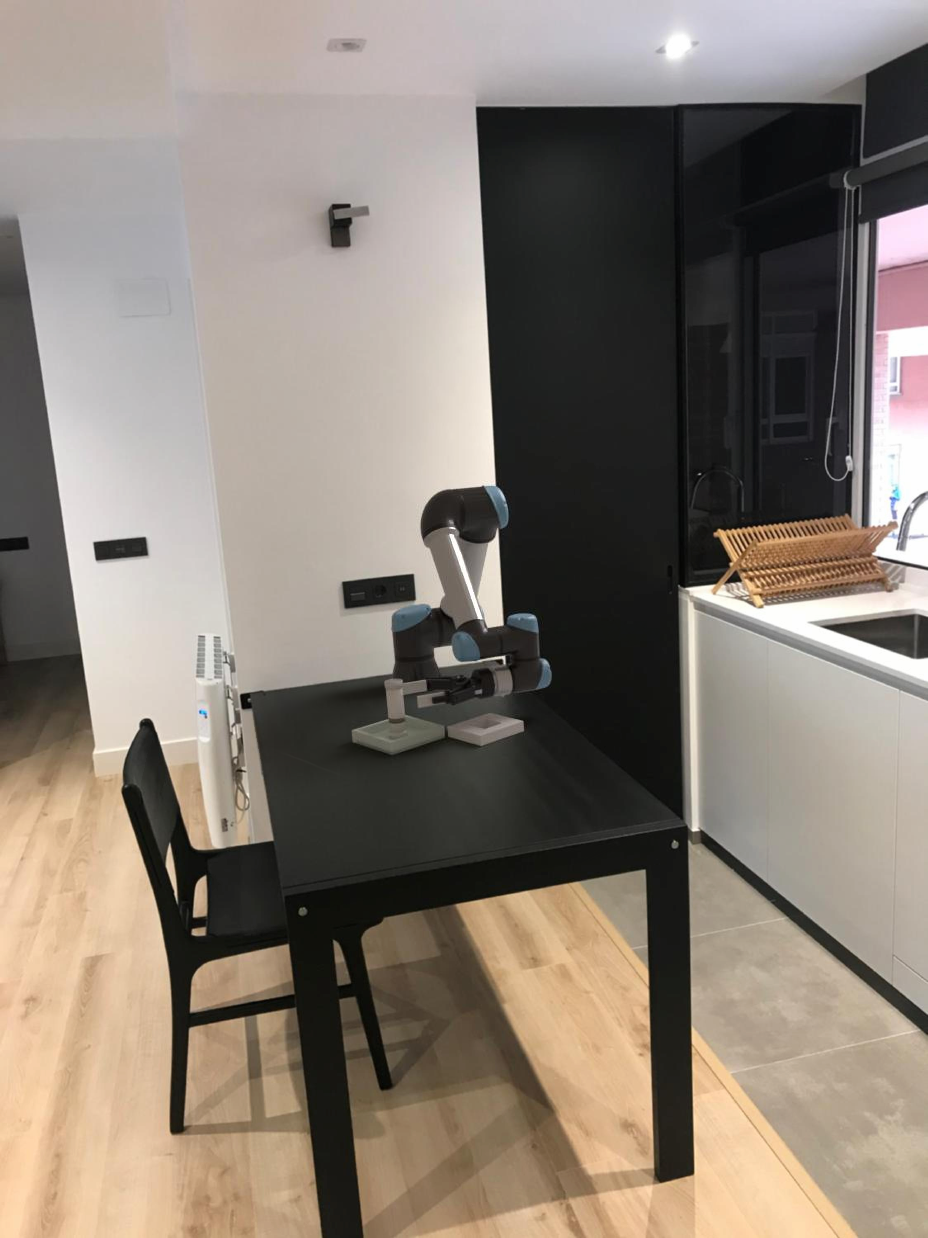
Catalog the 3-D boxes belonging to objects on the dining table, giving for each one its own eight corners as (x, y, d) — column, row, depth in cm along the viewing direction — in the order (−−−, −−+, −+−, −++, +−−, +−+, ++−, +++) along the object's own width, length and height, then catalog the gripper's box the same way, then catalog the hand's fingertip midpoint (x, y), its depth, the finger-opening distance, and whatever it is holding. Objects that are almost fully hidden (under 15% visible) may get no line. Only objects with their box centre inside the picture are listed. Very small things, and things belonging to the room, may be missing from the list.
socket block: (490, 722, 253) (489, 712, 252) (524, 731, 244) (523, 721, 243) (448, 736, 244) (447, 726, 243) (481, 746, 235) (480, 735, 234)
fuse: (400, 732, 247) (395, 677, 244) (411, 736, 244) (406, 680, 241) (385, 737, 244) (380, 681, 241) (396, 740, 241) (391, 684, 238)
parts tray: (404, 725, 255) (403, 714, 254) (445, 737, 243) (444, 725, 242) (352, 742, 245) (351, 730, 244) (392, 755, 233) (391, 742, 232)
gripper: (511, 708, 239) (426, 723, 232) (473, 685, 262) (396, 698, 255) (509, 677, 238) (424, 692, 231) (471, 657, 261) (393, 670, 254)
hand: (409, 695), depth 243 cm, fingers open, 13 cm apart
